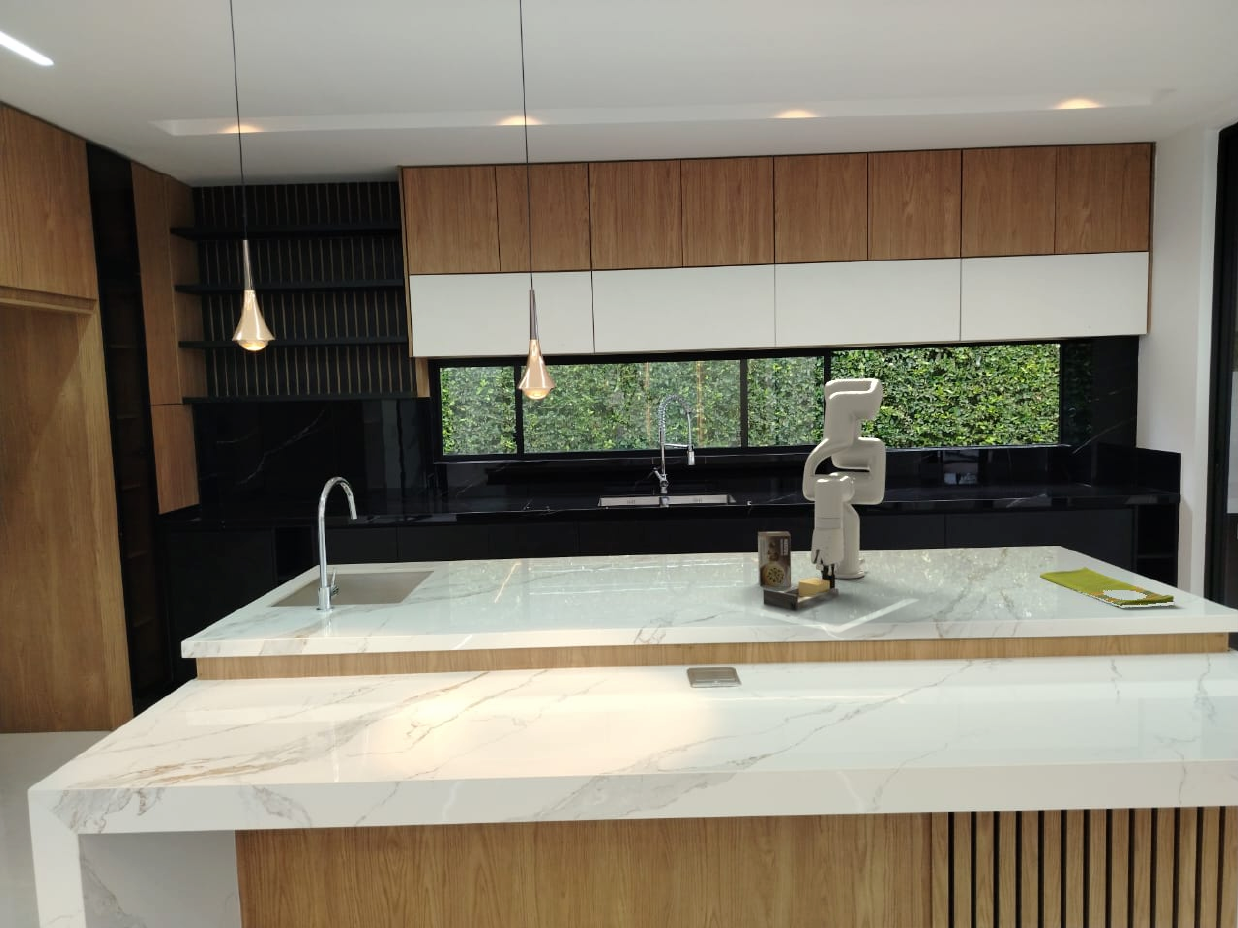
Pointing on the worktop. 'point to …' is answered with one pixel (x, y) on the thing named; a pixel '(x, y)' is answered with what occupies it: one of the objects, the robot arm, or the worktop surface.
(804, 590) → the block
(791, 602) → the chute
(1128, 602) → the dish towel
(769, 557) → the coffee box
